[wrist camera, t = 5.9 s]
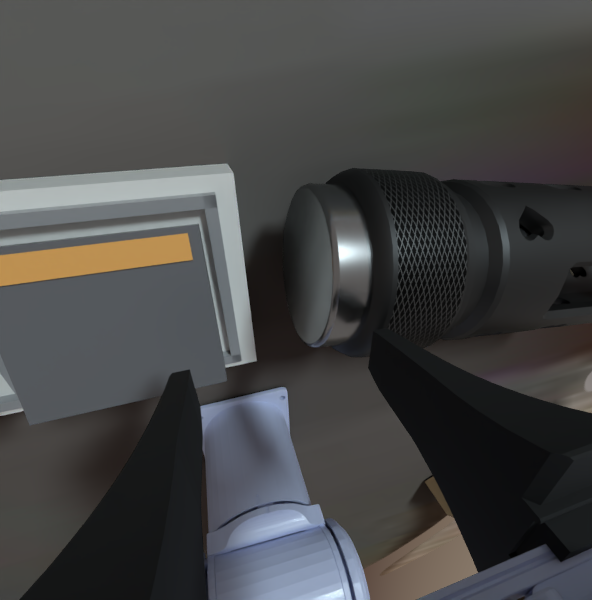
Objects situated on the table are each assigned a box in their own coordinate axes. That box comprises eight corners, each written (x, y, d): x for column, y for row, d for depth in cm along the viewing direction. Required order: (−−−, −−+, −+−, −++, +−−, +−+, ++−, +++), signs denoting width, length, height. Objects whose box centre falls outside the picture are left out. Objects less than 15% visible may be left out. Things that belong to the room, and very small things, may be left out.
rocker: (225, 368, 18) (227, 381, 16) (44, 407, 16) (28, 426, 14) (198, 223, 15) (197, 224, 14) (-19, 248, 13) (-45, 252, 12)
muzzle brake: (553, 277, 31) (692, 342, 22) (273, 295, 23) (322, 406, 14) (610, 173, 26) (814, 205, 18) (281, 151, 18) (362, 190, 10)
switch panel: (249, 334, 24) (259, 371, 21) (-157, 413, 19) (-231, 479, 15) (227, 163, 18) (235, 176, 14) (-400, 209, 12) (-615, 246, 9)
